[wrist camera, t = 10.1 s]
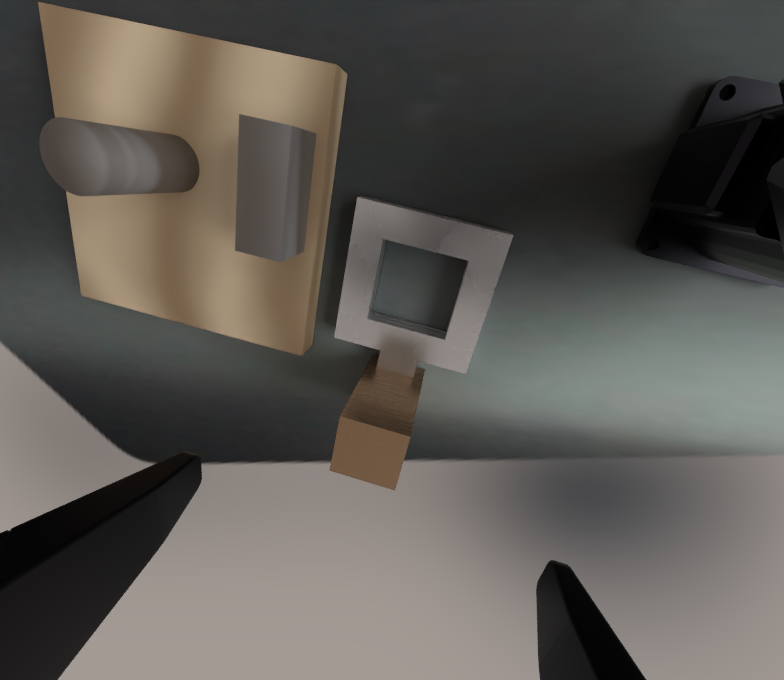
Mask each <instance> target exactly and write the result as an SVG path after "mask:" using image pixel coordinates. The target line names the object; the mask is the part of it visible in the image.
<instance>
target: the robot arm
mask: <svg viewBox="0 0 784 680" xmlns="http://www.w3.org/2000/svg"><path fill="white" fill-rule="evenodd" d="M723 87H726V88H728V90H729V95H728V97H727V98H726V100H725V101H723V100H721V99H720V96H719V94H720V91H721V89H722V88H723ZM650 201H651V204H652V206H653V207H652V209H651V211H650V213H649V216H648V218H647V220H646V222H645V224H644V226H643V228H642V230H641V232H640V235H639V237H638V239H637V242H636V249H637V250H638V251H639V252H640V253H642V254H644V255H647V256H651V257H655V258H659V259H663V260H668V261H672V262H676V263H680V264H685V265H689V266H693V267H697V268H702V269H706V270H710V271H714V272H719V273H723V274H727V275H731V276H736V277H740V278H744V279H748V280H753V281H757V282H761V283H765V284H769V285H774V286H778V287H783V288H784V80H782V81H780V82H779V85H778V84H773V83H768V82H763V81H758V80H753V79H747V78H742V77H737V76H729V77H727V78H724V79H722V80H719V81H717V82H715V83H714V84H713V85H712V86H711V87H710V88H709V90H708V91H707V93H706V95H705V97H704V99H703V101H702V104H701V106H700V108H699V110H698V112H697V114H696V116H695V118H694V120H693V123H692V125H691V127H690V129H689V130H688V131H686V132H684V133H682V134H681V135H680V136H679V139H678V141H677V143H676V145H675V147H674V149H673V151H672V154H671V156H670V158H669V160H668V162H667V164H666V166H665V169H664V171H663V173H662V175H661V177H660V179H659V181H658V183H657V186H656V188H655V190H654V192H653V194H652V196H651V199H650ZM651 238H655V245H654V246H653V247H651V248H649V249H647V247H646V243H647V242H648V240H649V239H651ZM201 473H202V472H201V458H200V456H199V455H197V454H194V453H190V452H181V453H179V454H177V455H174V456H172V457H170V458H168V459H165V460H163V461H161V462H159V463H157V464H154V465H152V466H150V467H148V468H146V469H143V470H141V471H139V472H136V473H134V474H132V475H130V476H127V477H125V478H123V479H121V480H119V481H116V482H114V483H112V484H110V485H107V486H106V487H103V488H101V489H98V490H96V491H94V492H92V493H90V494H87V495H85V496H83V497H81V498H78V499H76V500H74V501H72V502H70V503H67V504H65V505H63V506H60V507H58V508H56V509H54V510H52V511H49V512H47V513H45V514H43V515H40V516H38V517H36V518H34V519H31V520H29V521H27V522H25V523H22V524H20V525H18V526H16V527H14V528H12V529H11V530H10V531H8V530H7V531H4V532H2V533H0V680H58V678H59V677H60V676H61V674H62V673H63V672H64V670H65V669H66V668H67V667H68V665H69V664H70V662H72V660H73V659H74V657H75V656H76V655H77V654H78V652H79V651H80V650H81V649H82V647H83V646H84V645H85V643H86V642H87V641H88V640H89V638H90V637H91V636H92V634H93V633H94V632H95V631H96V629H97V628H98V627H99V625H100V624H101V623H102V622H103V620H104V619H105V618H106V616H107V615H108V614H109V612H110V611H111V610H112V609H113V607H114V606H115V605H116V603H117V602H118V601H119V600H120V598H121V597H122V596H123V594H124V593H125V592H126V590H127V589H128V588H129V587H130V585H131V584H132V583H133V581H134V580H135V579H136V578H137V576H138V575H139V574H140V573H141V571H142V570H143V569H144V567H145V566H146V565H147V563H148V562H149V561H150V560H151V558H152V557H153V555H154V554H155V553H156V552H157V551H158V549H159V548H160V546H161V545H162V544H163V542H164V541H165V539H166V538H167V536H168V535H169V533H170V531H171V530H172V528H173V527H174V526H175V524H176V522H177V521H178V519H179V518H180V516H181V514H182V513H183V511H184V509H185V508H186V507H187V505H188V504H189V502H190V500H191V499H192V497H193V496H194V494H195V492H196V491H197V489H198V488H199V485H200V483H201V480H202V474H201ZM536 595H537V632H538V660H539V673H540V680H646V679H645V677H644V676H643V674H642V673H641V671H640V670H639V668H638V667H637V665H636V664H635V662H634V661H633V659H632V658H631V656H630V655H629V653H628V652H627V650H626V649H625V647H624V646H623V644H622V643H621V642H620V640H619V639H618V637H617V636H616V634H615V633H614V631H613V630H612V628H611V627H610V625H609V624H608V622H607V621H606V619H605V618H604V616H603V615H602V613H601V612H600V610H599V609H598V608H597V606H596V604H595V603H594V602H593V600H592V598H591V597H590V596H589V594H588V593H587V591H586V590H585V588H584V587H583V585H582V584H581V582H580V581H579V579H578V578H577V576H576V575H575V573H574V572H573V570H572V569H571V568H570V567H569V566H568V565H567V564H564V563H561V562H557V561H554V560H551V561H549V562H548V564H547V565H546V567H545V569H544V571H543V573H542V574H541V576H540V578H539V580H538V583H537V589H536Z"/></svg>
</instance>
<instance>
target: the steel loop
mask: <svg viewBox="0 0 784 680" xmlns="http://www.w3.org/2000/svg"><path fill="white" fill-rule="evenodd" d="M512 238H513V234H512V233H511V232H509V231H504V230H500V229H496V228H492V227H488V226H484V225H480V224H476V223H472V222H468V221H464V220H460V219H456V218H452V217H447V216H443V215H439V214H435V213H431V212H427V211H423V210H419V209H415V208H411V207H407V206H403V205H399V204H395V203H390V202H386V201H382V200H378V199H374V198H370V197H366V196H361V197H357V202H356V208H355V214H354V220H353V226H352V232H351V238H350V244H349V251H348V257H347V263H346V269H345V275H344V281H343V287H342V293H341V299H340V305H339V311H338V317H337V323H336V329H335V335H334V338H337V339H341V340H345V341H348V342H352V343H355V344H359V345H363V346H366V347H370V348H373V349H377V350H380V354H379V357H378V356H375V355H372V357H371V359H370V361H369V363H368V364H367V366H366V368H365V370H364V372H363V374H362V376H361V378H360V380H359V381H358V383H357V385H356V387H355V389H354V391H353V393H352V395H351V396H350V398H349V400H348V402H347V404H346V406H345V408H344V410H343V412H342V413H341V415H340V419H339V424H338V429H337V435H336V440H335V445H334V450H333V456H332V461H331V466H330V471H333V472H337V473H340V474H343V475H346V476H350V477H353V478H356V479H360V480H363V481H366V482H369V483H373V484H376V485H380V486H383V487H386V488H389V489H392V490H395V488H396V484H397V481H398V477H399V474H400V471H401V467H402V464H403V461H404V457H405V454H406V451H407V447H408V444H409V440H410V437H411V432H412V428H413V423H414V418H415V414H416V409H417V404H418V400H419V395H420V390H421V385H422V381H423V376H424V371H425V369H421V368H418V367H416V366H417V363H418V361H420V362H424V363H428V364H431V365H435V366H438V367H442V368H446V369H449V370H453V371H457V372H460V373H464V374H466V372H467V369H468V366H469V363H470V360H471V358H472V355H473V352H474V349H475V346H476V343H477V340H478V337H479V334H480V331H481V328H482V326H483V323H484V320H485V317H486V314H487V311H488V308H489V305H490V302H491V299H492V296H493V294H494V291H495V288H496V285H497V282H498V279H499V276H500V273H501V270H502V267H503V264H504V262H505V259H506V256H507V253H508V250H509V247H510V244H511V241H512ZM387 240H389V241H393V242H397V243H401V244H405V245H408V246H412V247H416V248H420V249H424V250H428V251H432V252H436V253H440V254H444V255H448V256H452V257H456V258H460V259H464V260H467V263H466V267H465V270H464V273H463V276H462V280H461V283H460V286H459V290H458V293H457V296H456V300H455V303H454V306H453V310H452V313H451V316H450V320H449V323H448V326H447V330H446V331H444V330H440V329H436V328H433V327H429V326H425V325H421V324H418V323H414V322H410V321H407V320H403V319H399V318H395V317H392V316H388V315H384V314H381V313H377V312H373V306H374V301H375V296H376V291H377V287H378V282H379V277H380V272H381V267H382V262H383V257H384V253H385V248H386V243H387Z"/></svg>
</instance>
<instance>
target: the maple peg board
mask: <svg viewBox="0 0 784 680" xmlns="http://www.w3.org/2000/svg"><path fill="white" fill-rule="evenodd" d="M38 5H39V12H40V19H41V25H42V32H43V39H44V46H45V52H46V59H47V66H48V73H49V80H50V86H51V93H52V100H53V107H54V113H55V118H53V119H51V120H49V121H48V122H47V123H46V124H45V125H44V127H43V128H42V131H41V134H40V140H39V146H40V153H41V157H42V160H43V162H44V165H45V167H46V169H47V171H48V172H49V174H50V175H51V177H52V178H53V179H54V181H55V182H56V183H57V184H58V185H59V186H60V187H62V188H63V189H64V190H66V194H67V201H68V208H69V215H70V222H71V228H72V235H73V242H74V249H75V255H76V262H77V269H78V276H79V282H80V289H81V296H85V297H89V298H92V299H96V300H99V301H103V302H107V303H110V304H114V305H118V306H121V307H125V308H129V309H132V310H136V311H139V312H143V313H147V314H150V315H154V316H158V317H161V318H165V319H168V320H172V321H176V322H179V323H183V324H187V325H190V326H194V327H198V328H201V329H205V330H208V331H212V332H216V333H219V334H223V335H227V336H230V337H234V338H238V339H241V340H245V341H248V342H252V343H256V344H259V345H263V346H267V347H270V348H274V349H277V350H281V351H285V352H288V353H292V354H296V355H299V356H302V355H303V354H304V353H305V352H306V351H307V350H308V349H309V348H310V347H311V346H312V343H313V335H314V327H315V320H316V312H317V304H318V297H319V289H320V281H321V274H322V266H323V259H324V251H325V243H326V236H327V228H328V220H329V213H330V205H331V197H332V190H333V182H334V174H335V167H336V159H337V151H338V144H339V136H340V128H341V121H342V113H343V105H344V98H345V90H346V82H347V75H348V74H347V73H345V72H344V71H343V70H342V69H341V68H340V67H339V66H338V65H337V64H332V63H327V62H322V61H318V60H313V59H308V58H303V57H299V56H294V55H289V54H284V53H279V52H275V51H270V50H265V49H260V48H256V47H251V46H246V45H241V44H237V43H232V42H227V41H222V40H217V39H213V38H208V37H203V36H198V35H194V34H189V33H184V32H179V31H175V30H170V29H165V28H160V27H155V26H151V25H146V24H141V23H136V22H132V21H127V20H122V19H117V18H112V17H108V16H103V15H98V14H93V13H89V12H84V11H79V10H74V9H70V8H65V7H60V6H55V5H50V4H46V3H41V2H38Z"/></svg>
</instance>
